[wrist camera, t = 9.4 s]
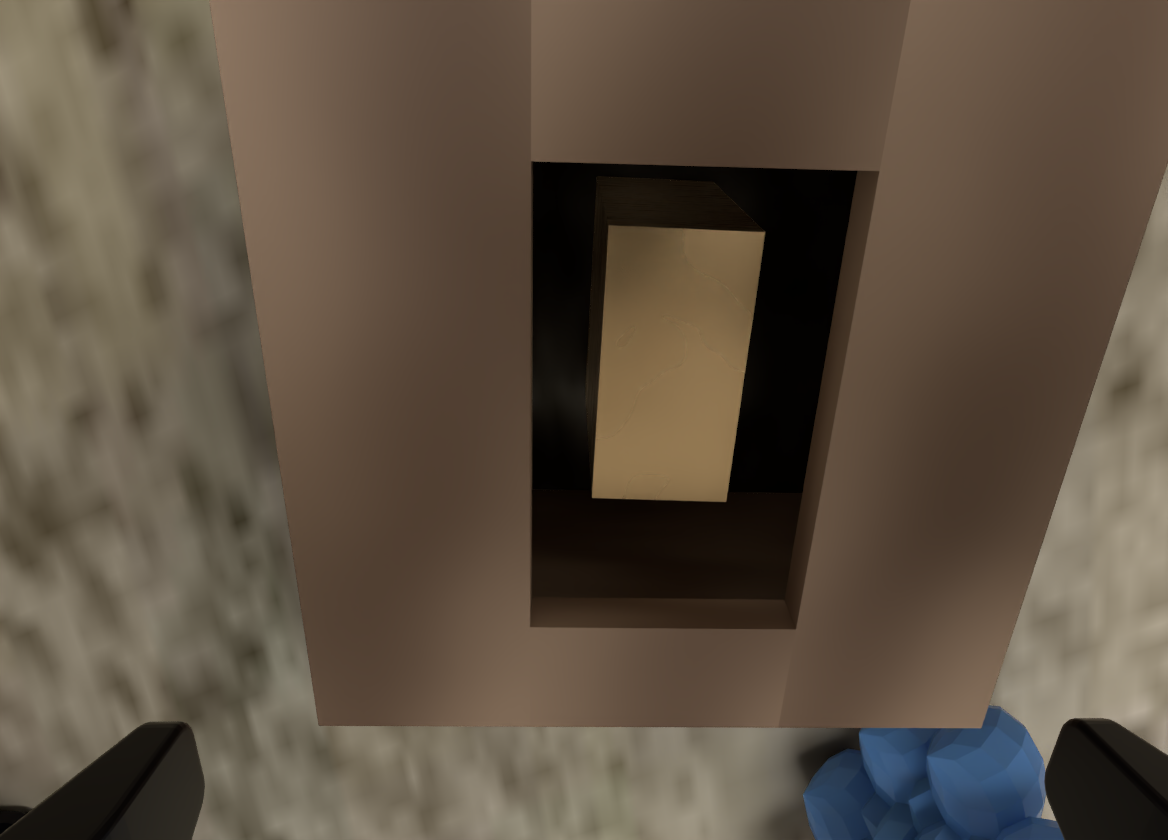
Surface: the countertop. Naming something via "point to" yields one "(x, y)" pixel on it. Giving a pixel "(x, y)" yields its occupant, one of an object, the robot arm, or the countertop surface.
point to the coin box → (851, 372)
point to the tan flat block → (667, 337)
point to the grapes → (934, 785)
